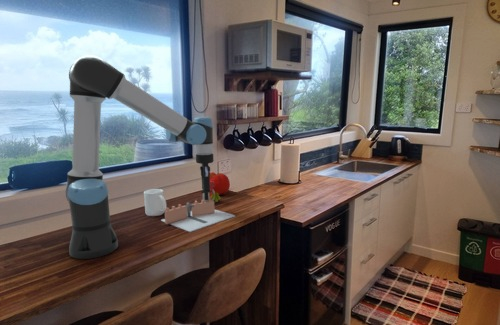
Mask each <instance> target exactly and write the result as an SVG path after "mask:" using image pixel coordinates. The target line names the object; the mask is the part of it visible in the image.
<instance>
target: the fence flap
mask: <svg viewBox="0 0 500 325" xmlns="http://www.w3.org/2000/svg"><path fill="white" fill-rule="evenodd" d="M190 210H191V211H192V216H196V215H202V214H208V213H215V210H216V209H215V200H214V201H211V199H208V202H204V200H203V199H201V201H200V202H198V201H197V200H194V203H190Z"/></svg>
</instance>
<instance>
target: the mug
mask: <svg viewBox="0 0 500 325" xmlns="http://www.w3.org/2000/svg"><path fill="white" fill-rule="evenodd" d="M143 201H144V211H145V212H144V213H145V214H146V216H148V217H157V216H161V215H164V214H165V212H164V211H166V208H167V200H166V199H165V197H164V189H161V188H151V189H150V188H149V189H147V190H144V191H143Z"/></svg>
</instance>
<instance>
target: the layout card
mask: <svg viewBox="0 0 500 325" xmlns="http://www.w3.org/2000/svg"><path fill="white" fill-rule="evenodd" d="M190 212H191V217H187V218H185V219H182V220H179V221H175V222H172V223H169V224H168V225H171V226H173V227H176V228H178V229H181V230H184V231H186V232H189V233H192V232H195V231H198V230H200V229H204V228H206V227H209V226H212V225H214V224H218V223H221V222H224V221H226V220H229V219H232V218H235V217H236V215H235V214H232V213H228V212H226V211H222V210H218V209H215V213H208V214H202V215H196V216H192V210H190ZM160 221H161V222H163V223H165V218H162V219H160Z"/></svg>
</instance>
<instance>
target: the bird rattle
mask: <svg viewBox="0 0 500 325" xmlns="http://www.w3.org/2000/svg"><path fill="white" fill-rule="evenodd" d="M214 186H215V183H214V182H213V181H212V182H210V192H209V199H211V201H214V203H218V201H219V200H221V199H222V197H221V195H219V194H218V193H216V194H215V191H214V190H213V187H214Z"/></svg>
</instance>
